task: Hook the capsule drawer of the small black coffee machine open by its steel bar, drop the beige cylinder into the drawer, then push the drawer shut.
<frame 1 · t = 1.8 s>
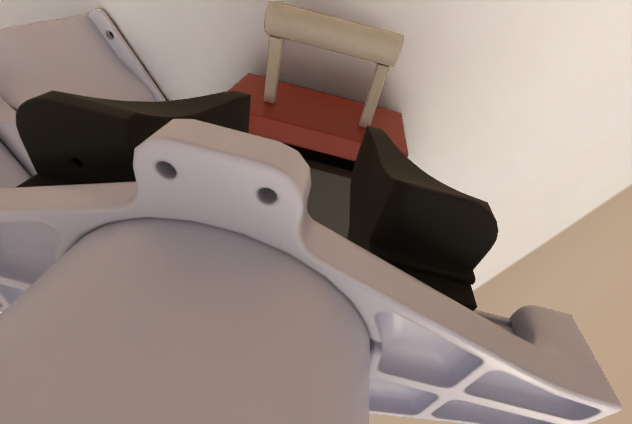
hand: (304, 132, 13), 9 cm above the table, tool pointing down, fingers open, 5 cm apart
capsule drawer: (308, 158, 20), point 4 cm above the table, slide at 0.5 cm
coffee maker: (306, 183, 26), on the table
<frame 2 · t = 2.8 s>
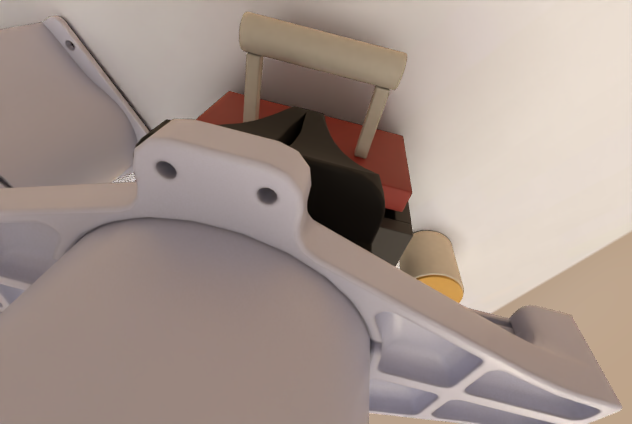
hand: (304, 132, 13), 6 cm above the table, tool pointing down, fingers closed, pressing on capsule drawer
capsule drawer: (297, 187, 18), point 4 cm above the table, slide at 0.4 cm, touching gripper
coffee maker: (297, 206, 23), on the table
beige cylinder: (424, 249, 24), on the table
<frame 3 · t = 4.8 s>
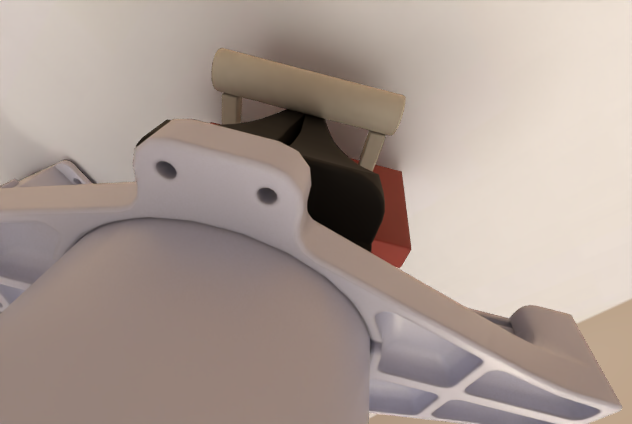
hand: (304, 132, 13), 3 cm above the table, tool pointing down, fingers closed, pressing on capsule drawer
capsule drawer: (285, 228, 16), point 4 cm above the table, slide at 7.5 cm, touching gripper
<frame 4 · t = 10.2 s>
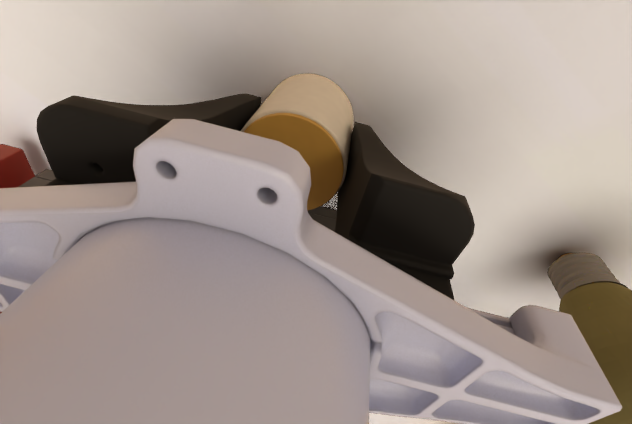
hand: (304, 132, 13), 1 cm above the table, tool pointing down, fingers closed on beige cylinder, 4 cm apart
light bulb: (565, 256, 17), on the table
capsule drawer: (53, 260, 18), point 4 cm above the table, slide at 7.5 cm
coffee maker: (267, 261, 21), on the table
beige cylinder: (309, 119, 14), on the table, touching gripper
when the fingers open (5 cm above the table, at t = 14.5 s): beige cylinder drops 2 cm, resting on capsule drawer.
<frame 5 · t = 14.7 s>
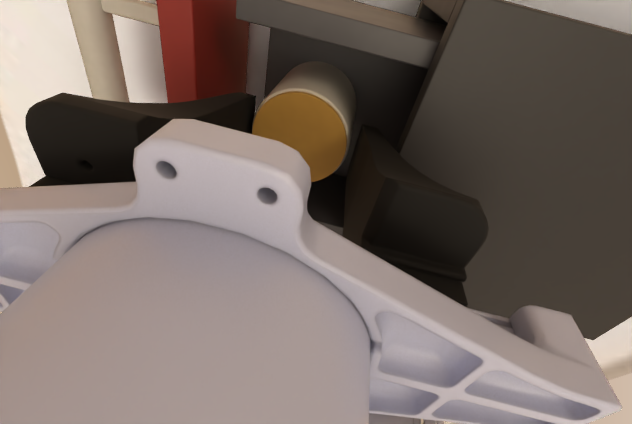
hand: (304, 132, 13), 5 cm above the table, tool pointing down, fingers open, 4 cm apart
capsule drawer: (272, 107, 14), point 4 cm above the table, slide at 7.6 cm, touching beige cylinder
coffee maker: (491, 136, 17), on the table
beige cylinder: (316, 103, 16), point 2 cm above the table, touching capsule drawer
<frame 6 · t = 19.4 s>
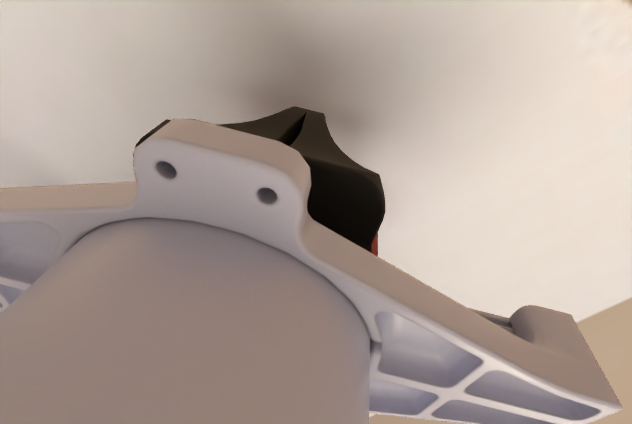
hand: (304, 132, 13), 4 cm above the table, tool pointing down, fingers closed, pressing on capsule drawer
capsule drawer: (279, 266, 19), point 4 cm above the table, slide at 7.2 cm, touching beige cylinder, gripper
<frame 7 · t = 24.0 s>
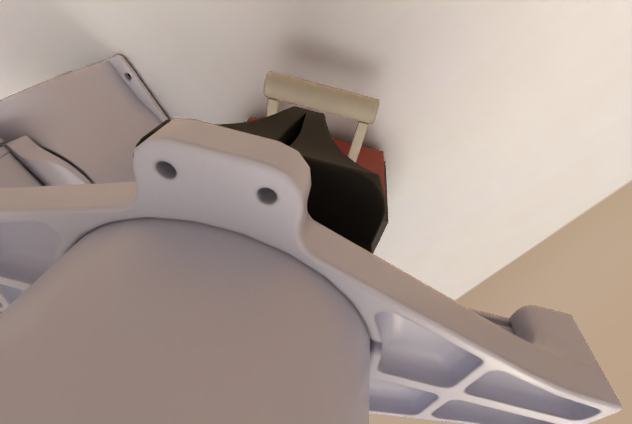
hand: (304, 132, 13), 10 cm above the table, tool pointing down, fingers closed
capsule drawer: (302, 191, 23), point 4 cm above the table, slide at 0.0 cm, touching beige cylinder
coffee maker: (302, 202, 29), on the table
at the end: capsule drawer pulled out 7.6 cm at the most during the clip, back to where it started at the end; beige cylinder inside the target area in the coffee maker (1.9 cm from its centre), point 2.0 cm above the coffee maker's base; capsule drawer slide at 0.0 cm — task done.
